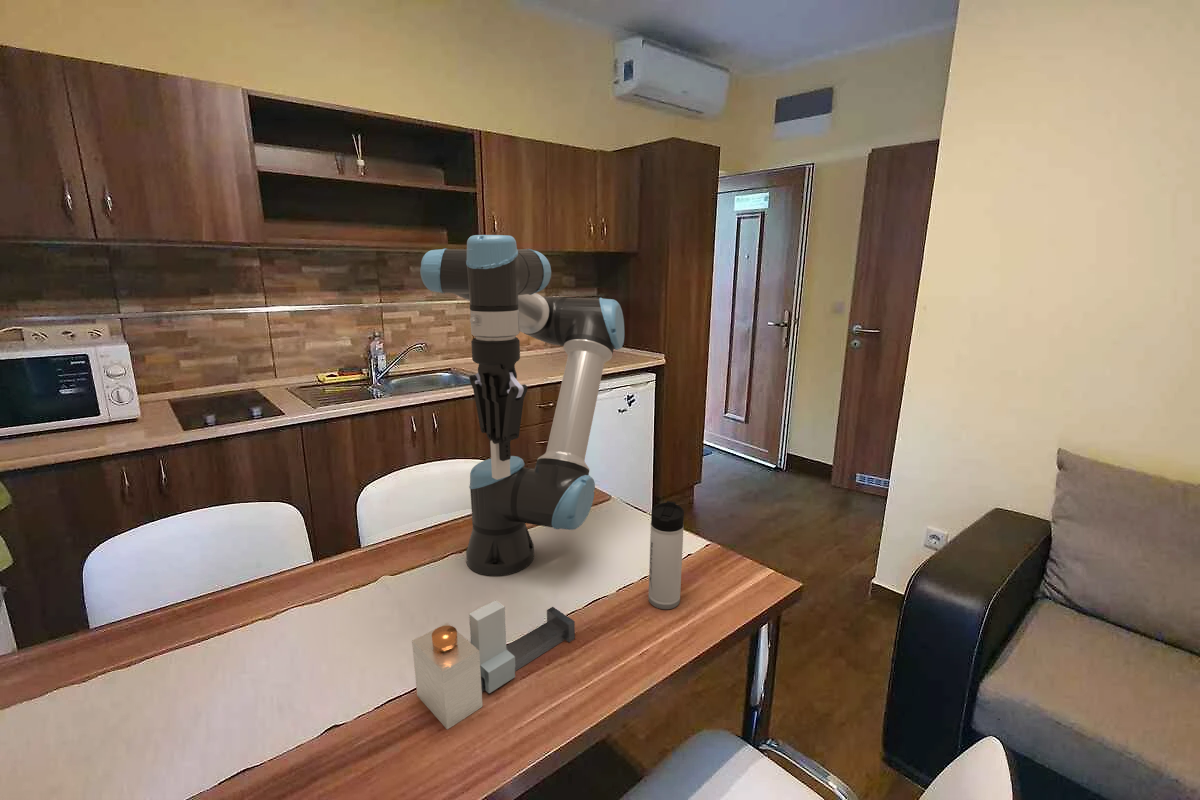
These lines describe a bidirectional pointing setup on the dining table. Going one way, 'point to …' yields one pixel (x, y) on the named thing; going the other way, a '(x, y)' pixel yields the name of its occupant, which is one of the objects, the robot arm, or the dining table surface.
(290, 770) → the dining table surface
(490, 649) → the carriage
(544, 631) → the rail
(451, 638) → the knob
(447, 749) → the dining table surface
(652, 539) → the travel mug
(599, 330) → the robot arm
